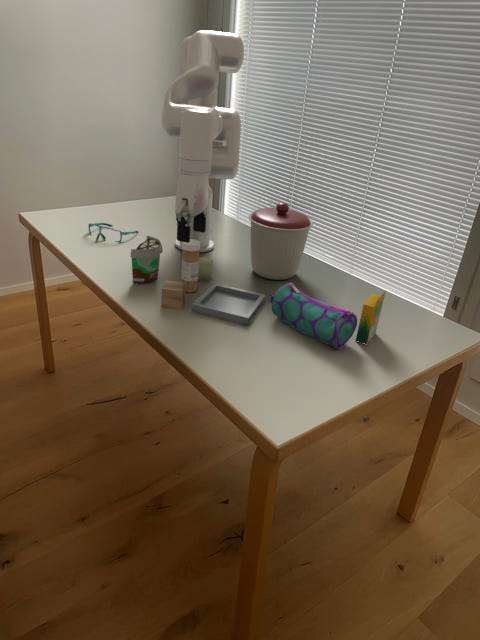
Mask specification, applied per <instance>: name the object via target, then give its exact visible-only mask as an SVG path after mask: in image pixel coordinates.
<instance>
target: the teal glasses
mask: <svg viewBox="0 0 480 640" xmlns="http://www.w3.org/2000/svg"><path fill="white" fill-rule="evenodd" d="M92 227H98V233H97V235H96V240H99V238H100V237H101V239H102V241H103V242H106V236H105V235H104V234H103V232H102V229H107V230H111V231H112V230H113V231H115V232H119V233H120V235H119V236H120V238H119V240H117V241H114V243H120V242H122V238H123V236H127V235H130V234H138V233H139V231H138V230H133V231H121V230H118V229H114V228H111V227H114V225H112V224H110V223H106V222H98V223H96V222H95V223H88V232H89V235H90V236H91V237H93V234H92V231H91V228H92Z"/></svg>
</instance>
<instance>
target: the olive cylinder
mask: <svg viewBox="0 0 480 640" xmlns="http://www.w3.org/2000/svg"><path fill="white" fill-rule="evenodd" d="M213 263H214V260H213V259H212V258H209V257H203V256H199V271H198V281H202V282H205V281H206V282H207V281H210V280H212V279H213V267H214V265H213Z"/></svg>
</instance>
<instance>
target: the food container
mask: <svg viewBox="0 0 480 640" xmlns="http://www.w3.org/2000/svg"><path fill="white" fill-rule="evenodd" d="M163 250H164V249H163V244H162V242H161V240H160V239H159V238H157V237H154V236H150V235H146V239H145V240H144V241H143V242H141V243H139V244H138V246H136V248H134V249H133V248H131V249H130V258H131V271H132V284H135V285H145V284H147V285H148V284H151V283H155V282H156V281H157V280H158V278H159V270H160V269H159V268H160V258H161V254H162V253H163V252H164V251H163Z"/></svg>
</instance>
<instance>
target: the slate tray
mask: <svg viewBox="0 0 480 640" xmlns="http://www.w3.org/2000/svg"><path fill="white" fill-rule="evenodd" d="M266 297H267V294H264V293H259V292H257V291H256V292H255V291H251V290H247V289H242V288H238V287H233V286H229V285H225V284H222V283H221V284H220V283H216V282H214V283H212V285H210V286H209V287H208V288H207V289H206V291H204V292H203V293H202V294H201V295H200V296H199V297H198V298H197V299H196V300H195V301H194V302H193V303H192V304H191V312H192V313H196V314H201V315H205V316H207V317H211V318H217V319H221V320H224V321H228V322H231V323H232V322H233V323H235V324H236V323H237V324H241V325H244V326H249V325H250V323H251V322H252V320H253V319H254V318H255V317H256V315H257V314H258V312H259V311H260V309H261V308H262V307H263V305H264V304H265V302H266Z"/></svg>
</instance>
